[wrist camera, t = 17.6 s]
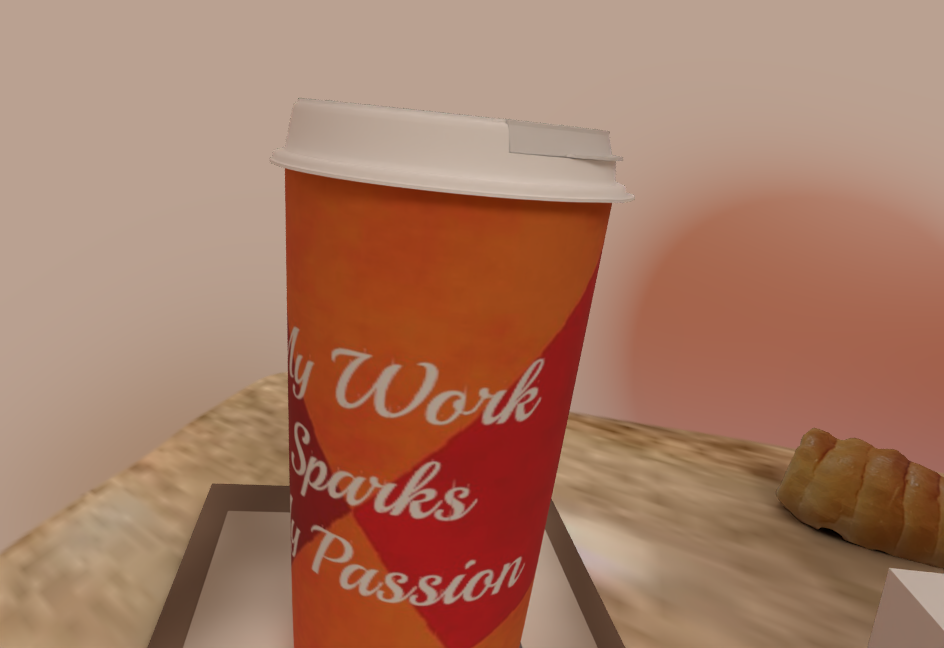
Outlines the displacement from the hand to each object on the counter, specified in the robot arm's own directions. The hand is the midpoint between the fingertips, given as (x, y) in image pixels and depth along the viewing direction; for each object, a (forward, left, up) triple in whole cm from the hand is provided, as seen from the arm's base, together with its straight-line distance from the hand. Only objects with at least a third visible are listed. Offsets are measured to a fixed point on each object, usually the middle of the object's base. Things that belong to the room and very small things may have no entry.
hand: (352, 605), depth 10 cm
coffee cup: (-2, -10, -9) cm, 13 cm away
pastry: (-25, -21, -11) cm, 34 cm away
